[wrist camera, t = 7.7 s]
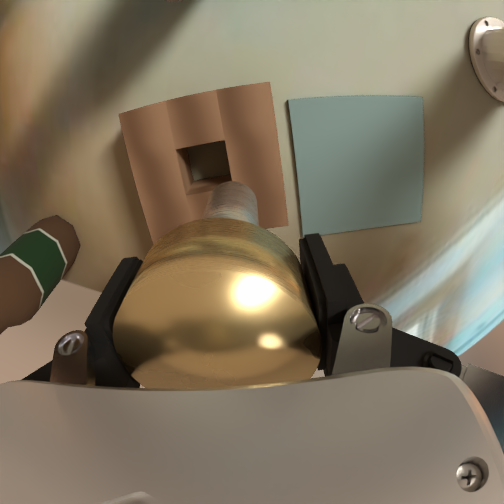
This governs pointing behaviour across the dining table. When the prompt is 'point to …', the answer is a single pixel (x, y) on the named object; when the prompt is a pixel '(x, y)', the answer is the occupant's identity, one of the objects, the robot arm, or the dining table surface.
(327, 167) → the mat
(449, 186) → the dining table surface
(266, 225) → the block
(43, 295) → the beer bottle
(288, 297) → the pin
